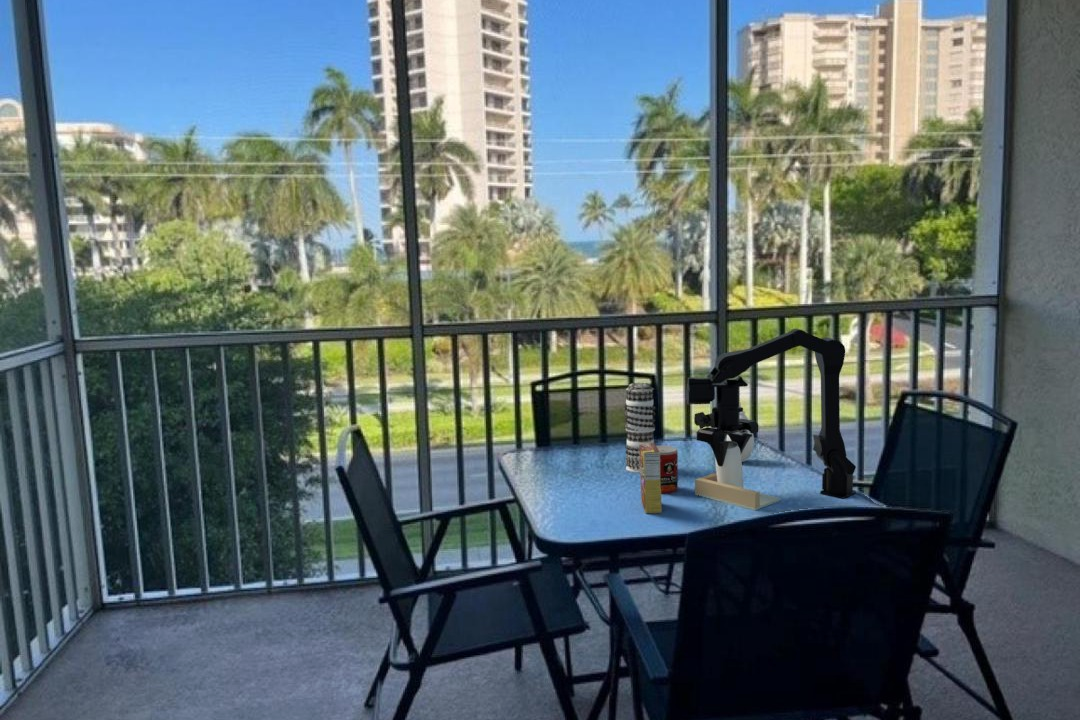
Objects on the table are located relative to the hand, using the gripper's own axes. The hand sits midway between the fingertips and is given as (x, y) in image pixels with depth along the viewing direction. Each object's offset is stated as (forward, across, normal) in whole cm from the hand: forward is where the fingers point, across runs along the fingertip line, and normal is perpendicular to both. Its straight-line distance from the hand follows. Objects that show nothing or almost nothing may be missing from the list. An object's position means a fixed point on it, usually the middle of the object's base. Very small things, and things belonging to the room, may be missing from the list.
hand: (728, 463), depth 201 cm
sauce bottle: (+8, -29, -17) cm, 34 cm away
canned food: (+8, +8, -15) cm, 19 cm away
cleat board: (+8, 0, +3) cm, 9 cm away
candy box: (+8, +22, -7) cm, 25 cm away
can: (+7, -1, 0) cm, 7 cm away
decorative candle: (+8, -3, -33) cm, 34 cm away
